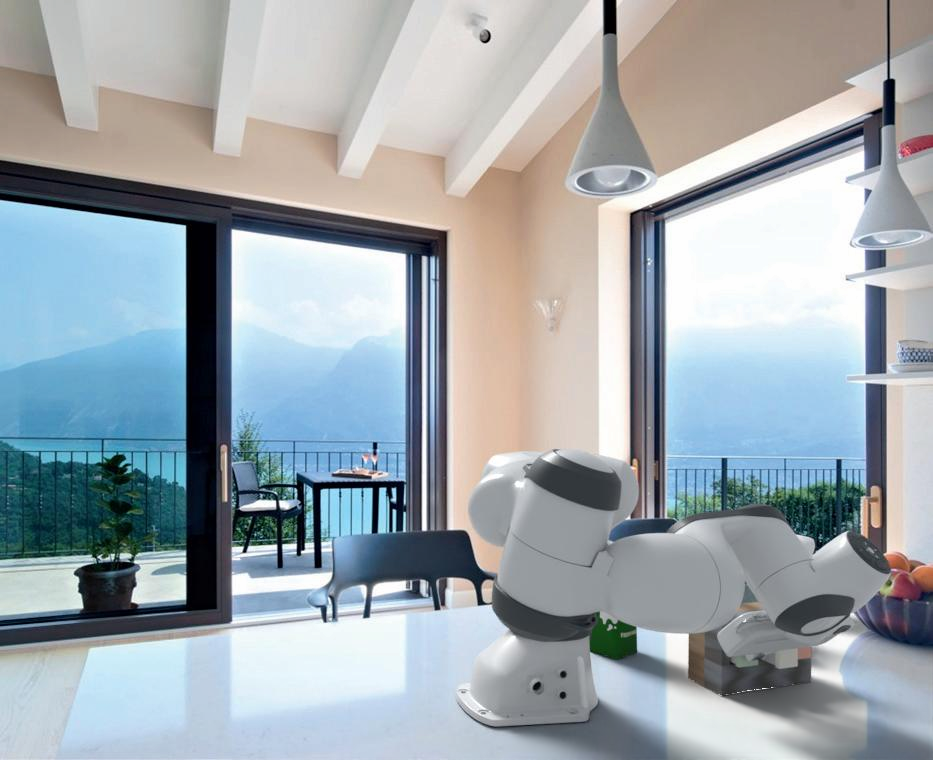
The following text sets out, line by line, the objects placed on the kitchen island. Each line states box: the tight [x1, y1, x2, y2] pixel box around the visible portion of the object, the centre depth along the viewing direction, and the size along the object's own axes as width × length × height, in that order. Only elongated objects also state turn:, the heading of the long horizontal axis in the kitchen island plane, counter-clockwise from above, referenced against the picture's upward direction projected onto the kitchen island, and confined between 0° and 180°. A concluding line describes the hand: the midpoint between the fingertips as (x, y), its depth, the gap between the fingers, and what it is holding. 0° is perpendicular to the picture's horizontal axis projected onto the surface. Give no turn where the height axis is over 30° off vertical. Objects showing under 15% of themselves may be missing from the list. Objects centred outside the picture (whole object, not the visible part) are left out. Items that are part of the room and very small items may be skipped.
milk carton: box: [590, 612, 638, 661], centre depth 131 cm, size 9×9×20 cm
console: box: [687, 602, 812, 696], centre depth 118 cm, size 20×8×12 cm, turn 112°
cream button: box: [762, 648, 798, 669], centre depth 112 cm, size 4×5×4 cm
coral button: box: [798, 646, 813, 659], centre depth 117 cm, size 4×5×4 cm
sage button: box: [730, 655, 758, 668], centre depth 112 cm, size 4×5×4 cm
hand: (752, 655), depth 110 cm, fingers closed
